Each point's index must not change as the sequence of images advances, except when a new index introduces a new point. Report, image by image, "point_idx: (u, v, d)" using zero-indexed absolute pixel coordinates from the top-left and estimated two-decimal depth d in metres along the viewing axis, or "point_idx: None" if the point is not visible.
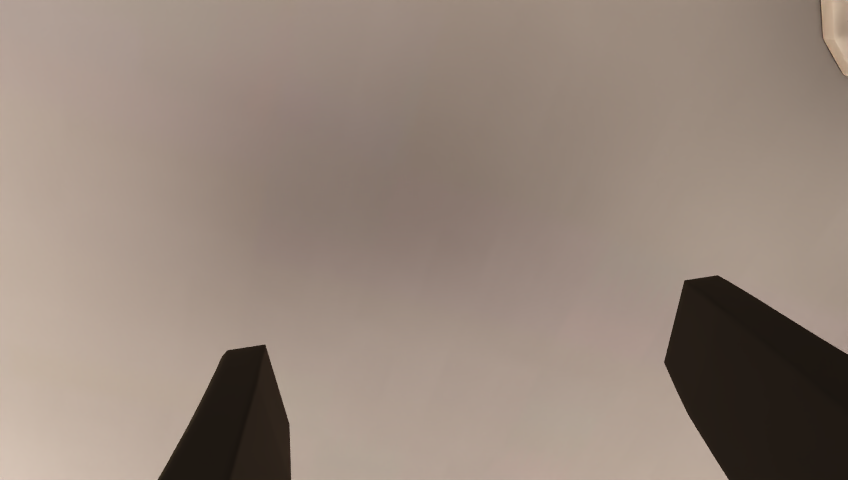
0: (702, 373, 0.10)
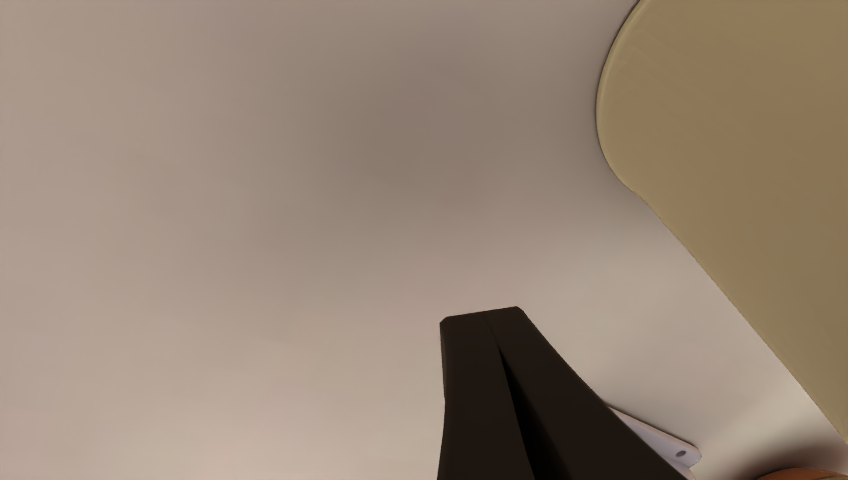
0: None
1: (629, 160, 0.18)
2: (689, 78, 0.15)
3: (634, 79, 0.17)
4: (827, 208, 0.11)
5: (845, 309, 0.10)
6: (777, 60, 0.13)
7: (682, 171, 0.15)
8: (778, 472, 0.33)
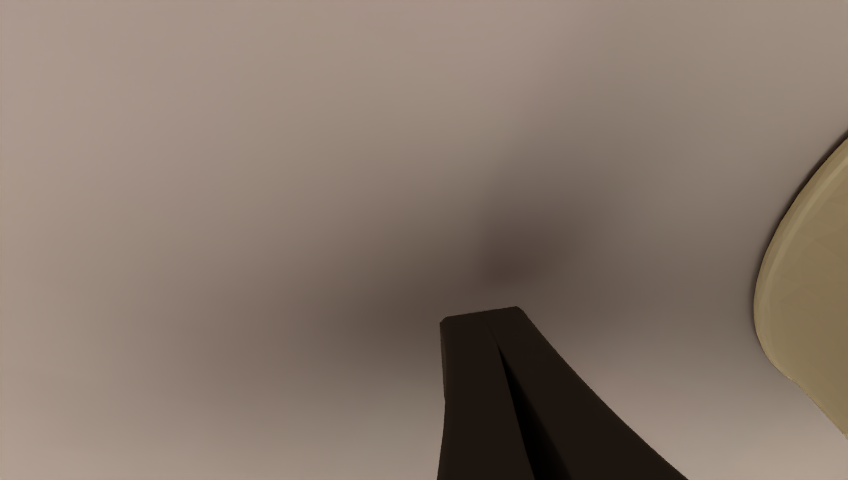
0: None
1: (830, 382, 0.11)
2: None
3: None
4: None
5: None
6: None
7: None
8: None
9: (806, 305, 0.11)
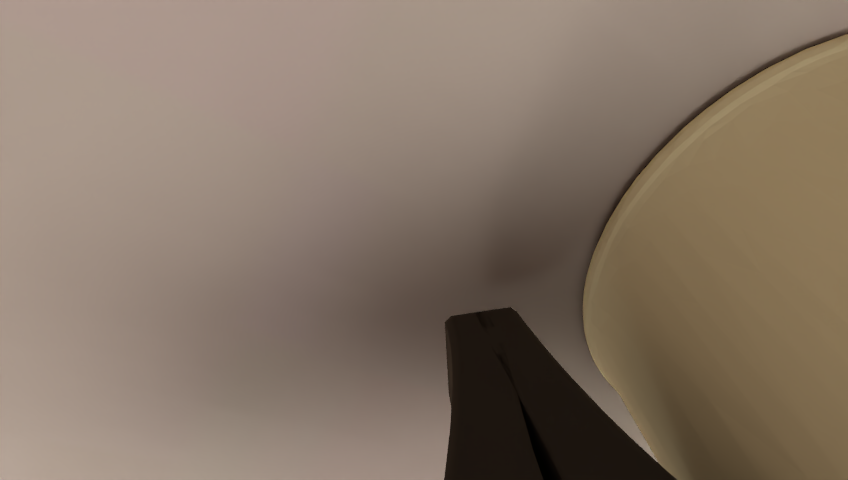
0: None
1: (637, 416, 0.11)
2: (759, 360, 0.07)
3: (648, 300, 0.10)
4: None
5: None
6: None
7: None
8: None
9: (614, 336, 0.11)
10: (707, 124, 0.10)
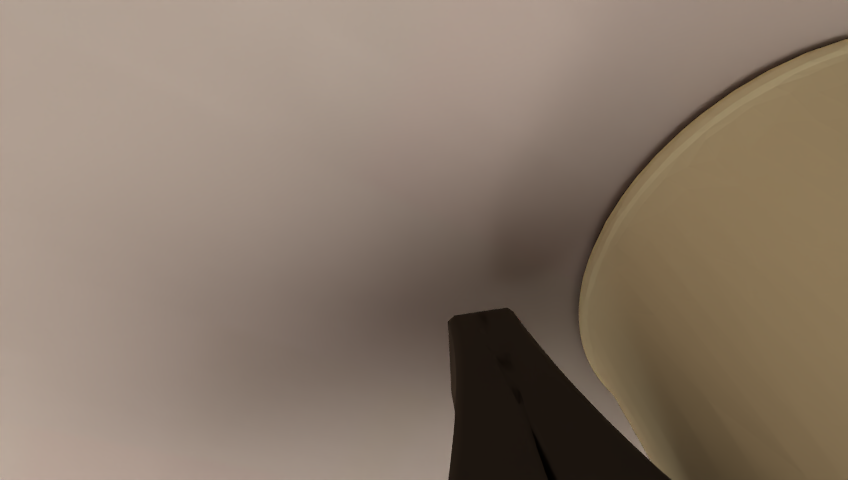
0: None
1: (632, 416, 0.11)
2: (759, 359, 0.07)
3: (646, 299, 0.10)
4: None
5: None
6: None
7: None
8: None
9: (611, 335, 0.11)
10: (708, 125, 0.10)
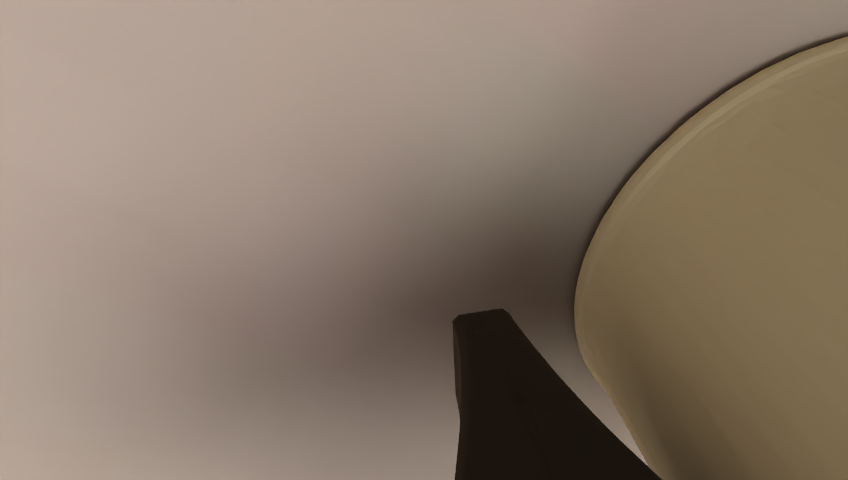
0: None
1: (627, 415, 0.11)
2: (751, 359, 0.07)
3: (641, 299, 0.10)
4: None
5: None
6: None
7: None
8: None
9: (606, 335, 0.11)
10: (702, 124, 0.10)
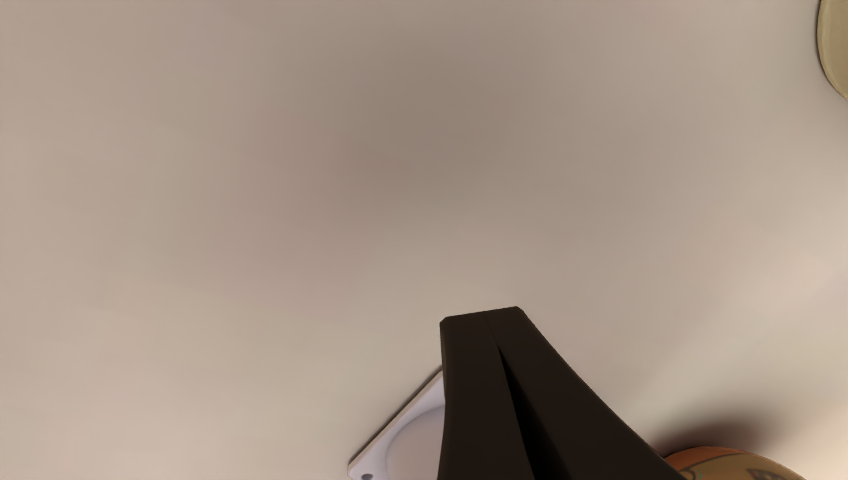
0: None
1: None
2: None
3: None
4: None
5: None
6: None
7: None
8: (684, 451, 0.32)
9: None
10: None
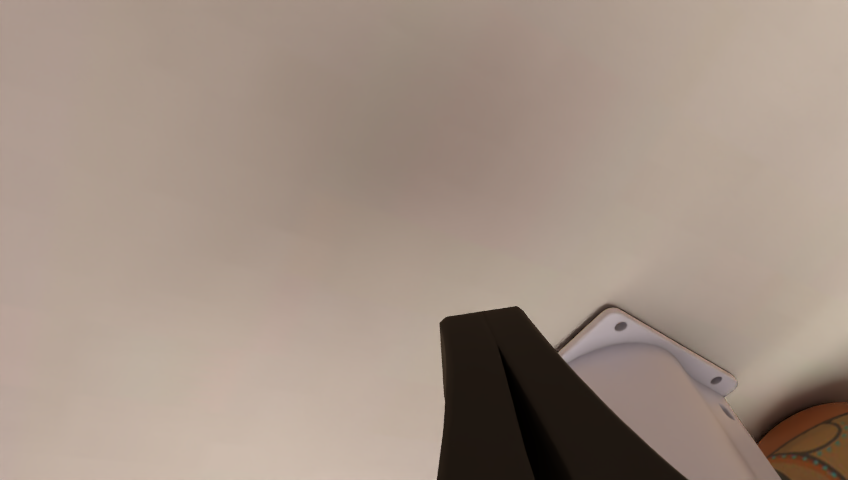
0: None
1: None
2: None
3: None
4: None
5: None
6: None
7: None
8: (816, 406, 0.31)
9: None
10: None
